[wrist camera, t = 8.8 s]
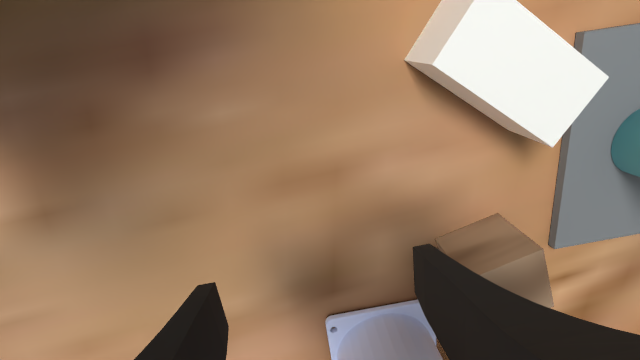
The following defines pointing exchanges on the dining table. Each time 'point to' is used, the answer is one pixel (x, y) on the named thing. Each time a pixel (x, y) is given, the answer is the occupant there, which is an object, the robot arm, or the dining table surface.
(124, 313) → the dining table surface
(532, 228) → the dining table surface
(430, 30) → the offwhite brick
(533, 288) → the walnut cube
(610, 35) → the mat
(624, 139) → the teal capsule
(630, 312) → the dining table surface
